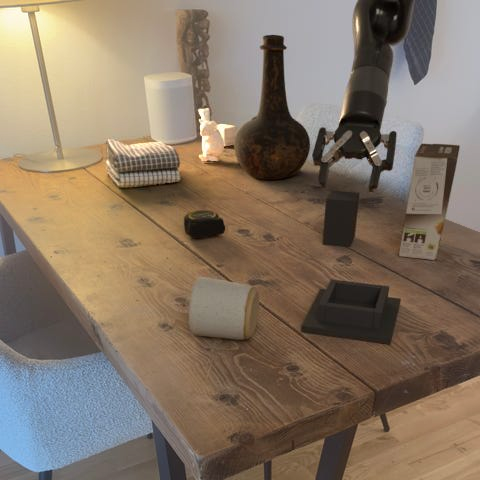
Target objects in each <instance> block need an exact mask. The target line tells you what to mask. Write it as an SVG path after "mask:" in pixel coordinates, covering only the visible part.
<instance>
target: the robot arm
mask: <svg viewBox="0 0 480 480" xmlns="http://www.w3.org/2000/svg"><path fill="white" fill-rule="evenodd" d="M415 2H416V0H357V1H356V3H355V6H354V7H353V8H354V9H353V13H352V20H351V21H352V38H353V61H352V65H351V71H350V75H349V79H348V82H347V83H346V87H345V92H344V97H343V101H342V107H341V110H340V111H341V112H340V115H339V121H338V125H337V128H336V129H335V130H334V131H330V130H326V128H325V127H323V126H322V127H319V130H318V133H317V136H316V140H315V144H314V147H313V151H312V155H311V157H312V162H313V166H315V167H319V171H318V175H317V181H318V185H319V186H320V188H321V189H326V188H327V184H328V178H329V174H330V169H331V168H332V166H333V165H334V164H335V163H338V162H339V161H341V159H342V158H344V159H346V160H352V159H356V160H363V159H366V160H367V162H368V164H369V165H370V166H371V173H370V178H369V183H368V193H374V190H377V189H378V187H379V183H380V178H381V174H382V172H384V171H387V172H391V171H392V170H393V168H394V163H395V162H394V161H395V154H396V148H397V137H398V136H397V134H398V133H397V131H395V130H392V131H390V132H389V133H384V134H383V133H381V129H382V124H383V119H384V114H385V109H386V106H387V103H388V96H389V95H388V93H389V84H390V77H391V75H392V74H391V73H392V68H393V63H394V51H393V49H392V47H396V46H398V45H400V44H401V43H402V42H403V41H404V40H405V39H406V37H407V36H408V34H409V31H410V28H411V24H412V18H413V14H414V13H413V12H414V7H415ZM331 141H333V142H334V144H333V145H332V146H330V148H329V150H328V151H327V152H326V153H324V151H325V148H326V146H328V145H329V144H330V143H331ZM381 143H382V144H383V147H384V148H385V149H386V157H385V159H381V157H380V156H379V154H378V151H377V149H376V148H377V147H378V146H380V144H381Z"/></svg>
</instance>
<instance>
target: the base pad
mask: <svg viewBox="0 0 480 480" xmlns="http://www.w3.org/2000/svg"><path fill="white" fill-rule="evenodd" d="M389 291H390V286H389V285H381V284H373V283H367V282H366V283H364V282H356V281H348V280H340V279H332V278H330V280H329V281H328V284H327V286H326V288H319V290H318V292H317V293H316V296H315V298H314V300H313V301H312V304H311V306H310V308H309V310H308V312H307V314H306V317H305V318H304V320H303V322H302V323H301V324H302V325H301V329H300V331H301V333H305V334H313V335H320V336H326V337H334V338H341V339H346V340H347V339H349V340H355V341H361V342H368V343H376V344H381V345H382V344H383V345H387V346H388V345H389V346H391V344H392V339H393V336H394V331H395V327H396V323H397V318H398V315H399V310H400V306H401V301H402V298H399V297H392V296H391V297H390V296H389Z"/></svg>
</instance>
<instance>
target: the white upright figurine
mask: <svg viewBox="0 0 480 480" xmlns="http://www.w3.org/2000/svg"><path fill="white" fill-rule="evenodd" d="M197 111H198V114H199V116H200V117H201V118H199V119H198V122H199V123H200V126H199V129H200V130H199V131H200V132H199V135H200V136H201V138H202V139H201V150H202V154H199V155H198V158H199V159H200V160H201V162H202V161H207V160H211V161H218V162H219V156H220V155H221V154H222V153H223V152H224V150H225V148H224V140H223V138H222V136H221V134H220V131H219V130H218V129H217V125H218V124H217V122H216V121H214V120H211V112H210V111H211V109H210V108H209V107H206V108H199V109H198V110H197Z"/></svg>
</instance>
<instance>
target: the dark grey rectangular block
mask: <svg viewBox="0 0 480 480" xmlns="http://www.w3.org/2000/svg"><path fill="white" fill-rule="evenodd" d="M360 195H361V194H360V192H359V191H349V190H347V191H346V190H333V189H331V190H330V192H329V193H328V195H327V197H326V198H325V207H324V219H323V231H322V233H323V234H322V245H325V246H335V247H344V248H351V246H352V244H353V242H354V240H355V237H356V230H357V229H356V228H357V220H358V212H359V201H360Z"/></svg>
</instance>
